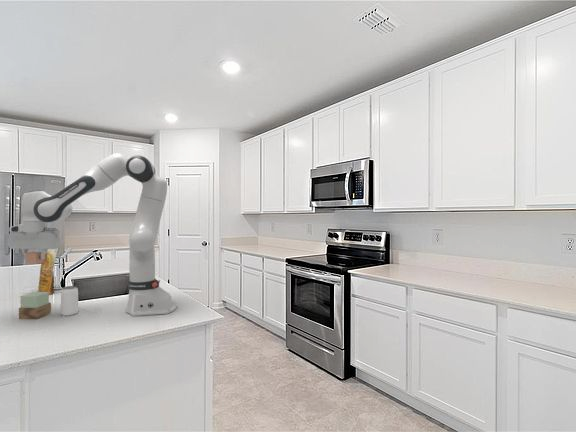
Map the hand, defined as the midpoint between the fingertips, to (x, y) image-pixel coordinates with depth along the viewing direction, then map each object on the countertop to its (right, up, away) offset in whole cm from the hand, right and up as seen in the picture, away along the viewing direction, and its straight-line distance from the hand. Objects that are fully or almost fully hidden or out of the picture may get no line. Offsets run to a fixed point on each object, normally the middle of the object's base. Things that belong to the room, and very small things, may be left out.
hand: (34, 259), depth 144 cm
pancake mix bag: (-24, -24, +40) cm, 52 cm away
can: (+13, -26, +4) cm, 29 cm away
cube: (0, -2, 0) cm, 2 cm away
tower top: (0, -20, 0) cm, 21 cm away
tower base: (0, -25, +1) cm, 26 cm away
